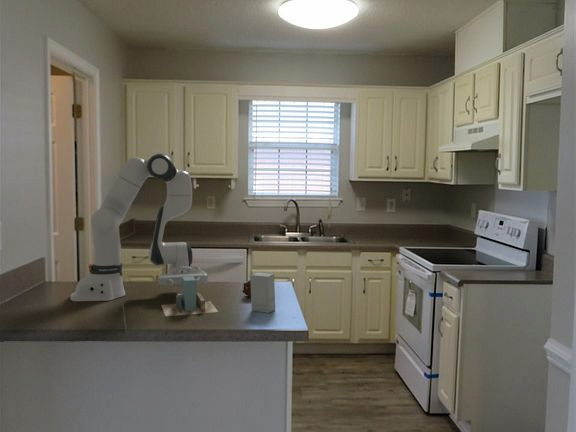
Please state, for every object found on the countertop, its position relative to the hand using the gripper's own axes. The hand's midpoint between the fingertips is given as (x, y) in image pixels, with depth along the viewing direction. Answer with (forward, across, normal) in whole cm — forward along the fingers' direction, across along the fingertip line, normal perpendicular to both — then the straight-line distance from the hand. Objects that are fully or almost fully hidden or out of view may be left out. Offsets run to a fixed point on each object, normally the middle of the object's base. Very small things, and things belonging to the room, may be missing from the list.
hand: (185, 282), depth 203 cm
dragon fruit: (-6, +30, +10) cm, 32 cm away
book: (+8, 0, +8) cm, 12 cm away
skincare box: (+16, +28, +10) cm, 34 cm away
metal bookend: (+8, -4, +8) cm, 12 cm away
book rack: (+8, 0, +10) cm, 12 cm away
